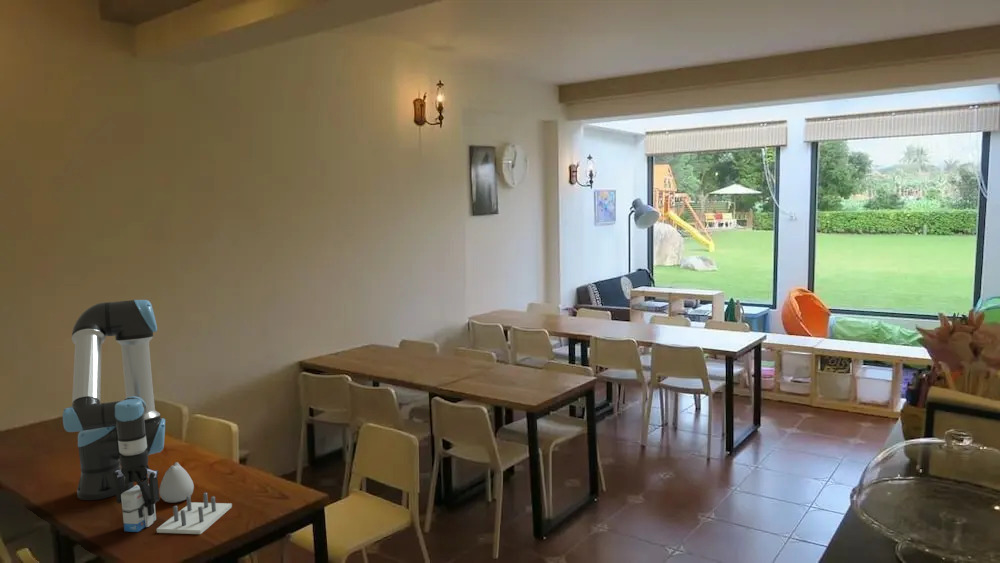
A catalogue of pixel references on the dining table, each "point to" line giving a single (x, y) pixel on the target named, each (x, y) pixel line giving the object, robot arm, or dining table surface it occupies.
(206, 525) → the peg board
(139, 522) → the ink box
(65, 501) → the dining table surface
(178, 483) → the toy character
